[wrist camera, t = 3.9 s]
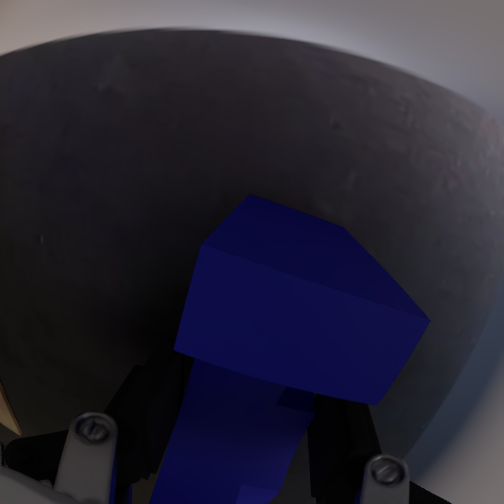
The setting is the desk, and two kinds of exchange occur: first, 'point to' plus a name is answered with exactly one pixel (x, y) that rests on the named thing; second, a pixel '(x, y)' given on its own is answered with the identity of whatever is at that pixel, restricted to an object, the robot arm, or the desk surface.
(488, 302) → the desk surface
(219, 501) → the blue cradle bracket
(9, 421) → the cork mat
